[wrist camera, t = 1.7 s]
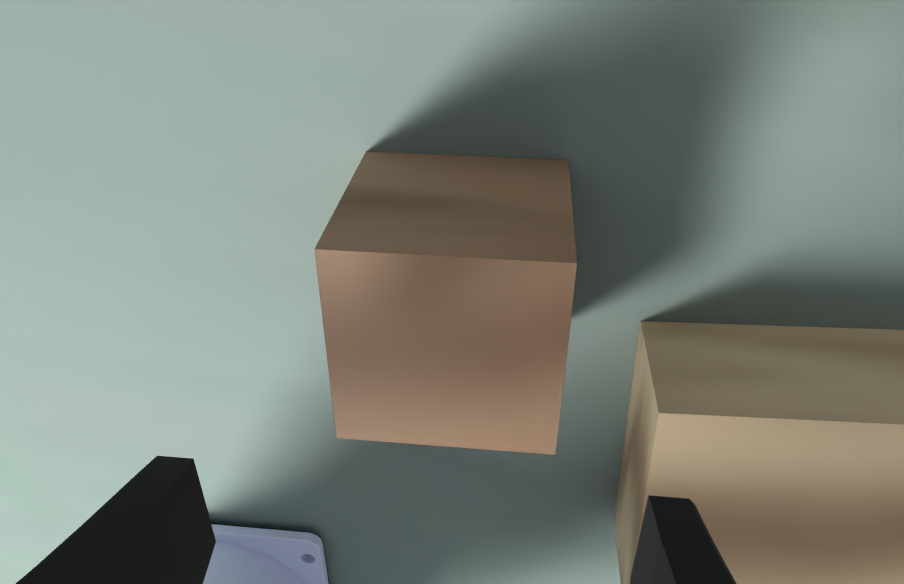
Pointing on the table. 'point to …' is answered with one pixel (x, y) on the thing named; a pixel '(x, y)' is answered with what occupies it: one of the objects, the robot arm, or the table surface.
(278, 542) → the robot arm
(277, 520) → the table surface
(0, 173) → the table surface
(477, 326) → the walnut cube
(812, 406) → the oak block
